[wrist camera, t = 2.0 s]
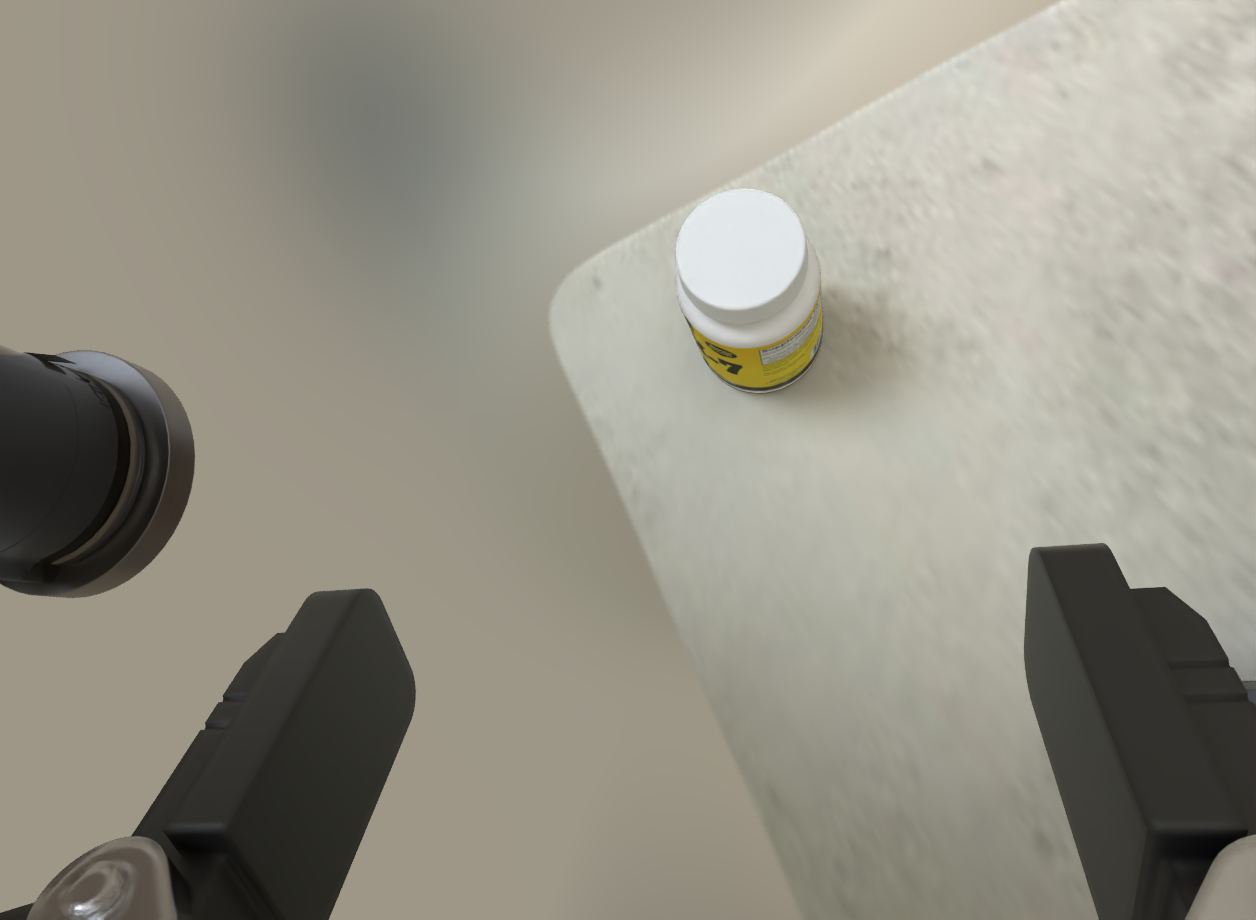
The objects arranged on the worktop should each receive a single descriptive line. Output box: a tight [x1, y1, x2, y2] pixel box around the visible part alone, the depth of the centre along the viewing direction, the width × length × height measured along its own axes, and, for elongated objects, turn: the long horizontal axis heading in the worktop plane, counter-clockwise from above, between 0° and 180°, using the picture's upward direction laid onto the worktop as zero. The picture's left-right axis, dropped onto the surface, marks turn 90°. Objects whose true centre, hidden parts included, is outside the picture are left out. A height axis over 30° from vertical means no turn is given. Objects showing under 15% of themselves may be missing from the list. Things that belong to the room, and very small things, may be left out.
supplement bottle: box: [675, 188, 823, 393], centre depth 32 cm, size 5×5×8 cm
